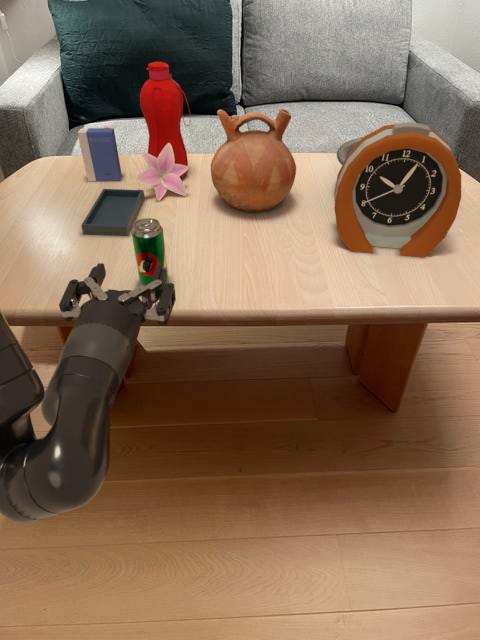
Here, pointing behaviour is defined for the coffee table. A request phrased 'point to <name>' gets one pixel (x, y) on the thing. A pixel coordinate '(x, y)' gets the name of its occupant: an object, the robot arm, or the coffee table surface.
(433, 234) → the alarm clock
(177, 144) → the water bottle
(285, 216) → the coffee table surface
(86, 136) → the walkman
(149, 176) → the lily
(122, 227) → the tray
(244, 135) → the jug
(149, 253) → the soda can
